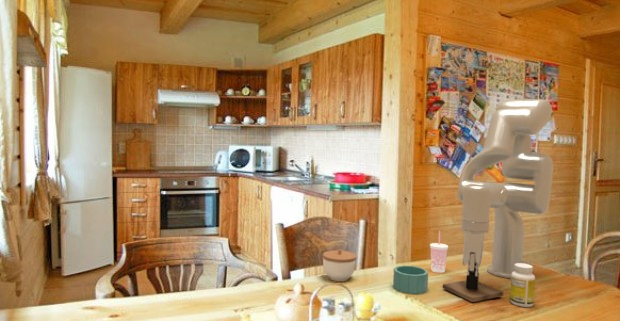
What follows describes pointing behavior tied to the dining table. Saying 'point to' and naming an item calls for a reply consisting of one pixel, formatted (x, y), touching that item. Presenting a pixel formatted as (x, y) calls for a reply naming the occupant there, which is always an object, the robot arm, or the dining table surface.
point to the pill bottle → (522, 285)
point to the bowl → (410, 279)
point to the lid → (472, 291)
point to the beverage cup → (438, 256)
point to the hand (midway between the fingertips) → (472, 286)
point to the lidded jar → (339, 264)
